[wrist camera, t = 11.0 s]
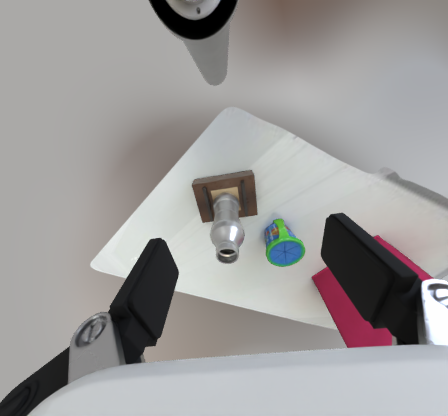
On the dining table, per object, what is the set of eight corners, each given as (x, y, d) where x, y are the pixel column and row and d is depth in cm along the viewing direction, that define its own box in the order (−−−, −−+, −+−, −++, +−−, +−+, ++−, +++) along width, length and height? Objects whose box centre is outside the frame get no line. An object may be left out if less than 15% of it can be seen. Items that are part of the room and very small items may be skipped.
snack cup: (290, 247, 58) (302, 271, 49) (260, 250, 58) (266, 274, 50) (294, 209, 50) (309, 229, 41) (259, 212, 51) (267, 233, 42)
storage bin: (307, 278, 66) (357, 376, 41) (376, 232, 54) (503, 330, 30) (348, 303, 74) (410, 397, 49) (415, 267, 62) (541, 368, 38)
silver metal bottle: (215, 187, 42) (209, 238, 25) (241, 192, 43) (252, 244, 25) (211, 208, 45) (204, 267, 28) (235, 212, 46) (242, 272, 29)
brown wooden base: (194, 179, 46) (190, 186, 41) (251, 169, 44) (255, 176, 39) (204, 215, 51) (201, 225, 47) (255, 208, 50) (258, 217, 45)
